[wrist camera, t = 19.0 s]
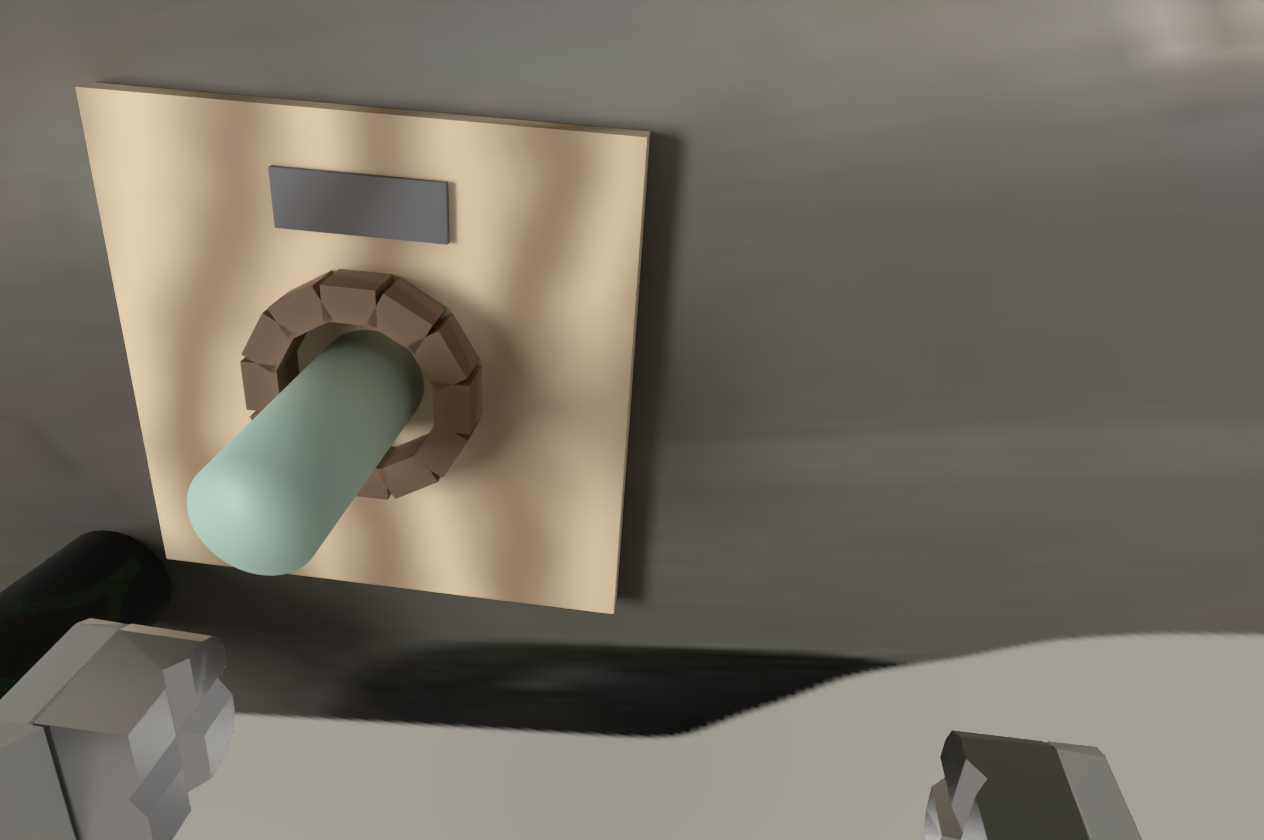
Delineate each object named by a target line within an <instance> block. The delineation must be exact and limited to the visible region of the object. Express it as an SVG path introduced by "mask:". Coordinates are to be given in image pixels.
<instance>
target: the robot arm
mask: <svg viewBox="0 0 1264 840" xmlns="http://www.w3.org/2000/svg"><path fill="white" fill-rule="evenodd" d="M226 665H227V661H226V656H225V652H224V647H223V642H222V641H221V640H219V639H217V638H215V637H213V636H209V635H202V634H196V633H189V632H183V631H176V630H170V629H163V628H157V627H150V626H144V625H137V624H130V625H129V624H123V623H117V622H111V621H105V620H99V619H93V618H89V619H86V620H84V621H81V622H79V623H76V624H75V625H74V626H73V627H72V628H71V629H70V630H69V631H68V632H67V633H66V634H65V635H64V636H63V637H62V638H61V639H60V640H59V641H58V642H57V643H56V644H55V645H54V646H53V647H52V648H51V649H50V650H49V651H48V652H47V653H46V654H45V655H44V656H43V657H42V658H41V659H40V660H39V661H38V662H37V663H36V664H35V665H34V666H33V667H32V668H31V669H30V670H29V671H28V672H27V673H26V674H25V675H24V676H23V677H22V678H21V679H20V680H19V681H18V682H17V683H16V684H15V685H14V686H13V687H12V688H11V689H10V690H9V691H8V692H7V693H6V694H5V695H4V696H3V697H2V698H1V700H0V840H172V839H173V838H174V836H175V835H176V833H177V831H178V830H179V828H180V827H181V825H182V823H183V822H184V821H185V819H186V818H187V816H188V814H189V813H190V811H191V807H190V802H189V796H188V792H189V791H191V790H193V789H194V788H196V787H198V786H199V785H201V784H202V783H204V782H206V781H207V780H209V779H211V778H212V777H213V775H214V773H215V772H216V770H217V769H218V767H219V765H220V764H221V762H222V760H223V759H224V757H225V754H226V751H227V748H228V745H229V742H230V739H231V736H232V733H233V727H234V714H235V709H234V703H233V696H232V693H231V692H230V691H229V690H228V689H227V688H226V687H225V686H224V685H223V683H222V682H221V681H220V680H219V679H218V676H219V675H220V673H221V672H222V671H223V669H224V668H225V666H226ZM941 761H942V766H943V770H944V774H945V778H944V779H942V780H941V781H939V782H938V783H936V784H935V785H934V786H932V788H931V792H930V796H929V800H928V804H927V808H926V817H925V830H924V840H1142V839H1141V836H1140V834H1139V832H1138V830H1137V827H1136V825H1135V823H1134V821H1133V818H1132V816H1131V814H1130V811H1129V809H1128V807H1127V805H1126V803H1125V800H1124V798H1123V796H1122V794H1121V791H1120V789H1119V787H1118V784H1117V782H1116V780H1115V778H1114V776H1113V773H1112V771H1111V768H1110V766H1109V764H1108V762H1107V759H1106V757H1105V755H1104V754H1103V753H1102V752H1101V751H1100V750H1099V749H1098V748H1097V747H1092V746H1083V745H1074V744H1064V743H1056V742H1047V743H1045V742H1042V741H1035V740H1027V739H1018V738H1010V737H1002V736H993V735H985V734H976V733H968V732H960V731H951V733H950V734H949V736H948V737H947V739H946V741H945V744H944V747H943V750H942V754H941Z"/></svg>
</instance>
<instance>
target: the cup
mask: <svg viewBox="0 0 1264 840" xmlns="http://www.w3.org/2000/svg"><path fill="white" fill-rule="evenodd" d="M170 595H171V583H170V580H169V577H168V574H167V572H166V570H165V568H164V566H163V565H162V563H161V562H160V560H159V559H158V558H157V557H156V556H155V555H154V554H153V553H152V552H151V551H150V550H149V549H148V548H146V547H145V546H144V545H143V544H141V543H139V542H138V541H136V540H134V539H132V538H130V537H128V536H125V535H122V534H119V533H116V532H109V531H94V532H89V533H86V534H83V535H81V536H79V537H78V538H77V539H75V540H74V541H72V542H71V543H70V544H68V545H67V546H65V547H64V548H63V549H61V550H60V551H58V552H57V553H55V554H54V555H53V556H51V557H50V558H48V559H47V560H46V561H44V562H43V563H41V564H40V565H39V566H37V567H36V568H34V569H33V570H32V571H30V572H29V573H27V574H26V575H25V576H23V577H22V578H20V579H19V580H17V581H16V582H15V583H13V584H12V585H10V586H9V587H8V588H6V589H5V590H3V591H2V592H1V593H0V700H1V698H2V697H3V696H4V695H5V694H6V693H7V692H8V691H9V690H10V689H11V688H12V687H13V686H14V685H15V684H16V683H17V682H18V681H19V680H20V679H21V678H22V677H23V676H24V675H25V674H26V673H27V672H28V671H29V670H30V669H31V668H32V667H33V666H34V665H35V664H36V663H37V662H38V661H39V660H40V659H41V658H42V657H43V656H44V655H45V654H46V653H47V652H48V651H49V650H50V649H51V648H52V647H53V646H54V645H55V644H56V643H57V642H58V641H59V640H60V639H61V638H62V637H63V636H64V635H65V634H66V633H67V632H68V631H69V630H70V629H71V628H72V627H73V626H74V625H75V624H76V623H79V622H81V621H84V620H86V619H89V618H93V619H99V620H105V621H111V622H117V623H123V624H129V625H130V624H137V625H144V626H150V627H152V625H153V624H154V622H155V621H156V620H157V618H158V617H159V615H160V614H161V612H162V611H163V610H164V608H165V607H166V605H167V604H168V602H169V598H170Z"/></svg>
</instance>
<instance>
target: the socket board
mask: <svg viewBox="0 0 1264 840" xmlns="http://www.w3.org/2000/svg"><path fill="white" fill-rule="evenodd" d="M75 88H76V93H77V98H78V103H79V109H80V114H81V119H82V124H83V129H84V134H85V140H86V145H87V150H88V155H89V160H90V165H91V171H92V176H93V181H94V186H95V191H96V197H97V202H98V207H99V212H100V217H101V222H102V228H103V233H104V238H105V243H106V248H107V253H108V259H109V264H110V269H111V274H112V279H113V284H114V290H115V295H116V300H117V305H118V310H119V315H120V321H121V326H122V331H123V336H124V341H125V347H126V352H127V357H128V362H129V367H130V372H131V378H132V383H133V388H134V393H135V398H136V403H137V409H138V414H139V419H140V424H141V429H142V434H143V440H144V445H145V450H146V455H147V460H148V465H149V471H150V476H151V481H152V486H153V491H154V497H155V502H156V507H157V512H158V517H159V522H160V528H161V533H162V538H163V543H164V548H165V553H166V559H172V560H180V561H189V562H197V563H205V564H213V565H221V566H229V567H234V566H231V565H230V564H228V563H226V562H225V561H223V560H222V559H220V558H219V557H217V556H216V555H215V554H214V553H213V552H211V551H210V550H209V549H208V548H207V547H206V546H205V544H204V543H203V542H202V541H201V540H200V538H199V537H198V535H197V534H196V532H195V530H194V529H193V526H192V524H191V522H190V519H189V516H188V511H187V494H188V490H189V487H190V484H191V482H192V480H193V479H194V477H195V476H196V475H197V474H198V473H199V472H200V471H201V470H202V469H203V468H204V467H205V466H206V465H207V464H208V463H209V462H210V461H211V460H212V459H213V458H214V457H215V456H216V455H217V454H218V453H219V452H220V451H221V450H222V449H223V448H224V447H225V446H226V445H227V444H228V443H229V442H230V441H231V440H232V439H233V438H234V437H235V436H236V435H238V434H239V433H240V432H241V431H242V430H243V429H244V428H245V427H246V426H247V425H248V424H249V423H250V422H251V421H252V420H253V419H254V418H255V417H256V416H257V415H258V414H259V413H260V412H261V411H262V410H263V409H264V408H265V407H266V406H267V405H268V404H269V403H270V402H271V401H272V400H273V399H274V398H275V397H276V396H277V395H278V394H279V393H280V392H282V391H283V390H284V389H285V388H286V387H287V386H288V385H289V384H290V383H291V382H292V381H293V380H294V379H295V378H296V377H297V376H298V375H299V374H300V373H301V372H302V371H303V370H304V369H305V368H306V367H307V366H308V365H309V364H310V363H311V362H312V361H313V360H314V359H315V358H316V357H317V356H318V355H319V354H320V353H321V352H322V351H323V350H324V349H325V348H327V347H328V346H329V345H330V344H331V343H332V342H333V341H334V340H335V339H336V338H338V337H339V336H341V335H343V334H345V333H347V332H351V331H356V330H372V331H377V332H381V333H383V334H384V335H386V336H388V337H389V338H391V339H392V340H394V341H395V342H397V343H399V344H400V345H402V346H403V347H405V348H406V349H408V350H409V351H410V352H411V353H412V355H413V356H414V358H415V360H416V361H417V363H418V365H419V367H420V369H421V372H422V375H423V380H424V392H423V397H422V400H421V403H420V405H419V407H418V408H417V410H416V411H415V412H414V414H413V415H412V417H411V418H410V420H409V421H408V422H407V424H406V425H405V427H404V428H403V430H402V431H401V432H400V434H399V435H398V437H397V438H396V440H395V441H394V442H393V444H392V445H391V447H390V448H389V449H388V451H387V452H386V454H385V455H384V457H383V458H382V459H381V461H380V462H379V464H378V465H377V467H376V468H375V469H374V471H373V472H372V474H371V475H370V477H369V478H368V479H367V481H366V482H365V484H364V485H363V487H362V488H361V489H360V491H359V492H358V494H357V495H356V496H355V498H354V499H353V501H352V502H351V504H350V505H349V506H348V508H347V509H346V511H345V512H344V514H343V515H342V516H341V518H340V519H339V521H338V522H337V524H336V525H335V526H334V528H333V529H332V531H331V532H330V534H329V535H328V536H327V538H326V539H325V541H324V542H323V543H322V545H321V546H320V548H319V549H318V551H317V552H316V553H315V555H314V556H313V558H312V559H311V560H310V561H309V562H308V563H307V564H306V565H304V566H303V567H302V568H300V569H298V570H296V571H293V572H291V573H287V574H294V575H302V576H310V577H318V578H326V579H334V580H342V581H350V582H358V583H367V584H375V585H383V586H391V587H399V588H407V589H415V590H423V591H431V592H439V593H447V594H456V595H464V596H472V597H480V598H488V599H496V600H504V601H512V602H520V603H528V604H536V605H544V606H553V607H561V608H569V609H577V610H585V611H593V612H601V613H609V614H614V610H615V605H616V600H617V590H618V576H619V562H620V548H621V534H622V520H623V506H624V492H625V478H626V464H627V450H628V436H629V422H630V408H631V394H632V380H633V367H634V353H635V339H636V325H637V311H638V297H639V283H640V269H641V255H642V241H643V227H644V213H645V199H646V185H647V171H648V157H649V143H650V131H641V130H630V129H618V128H607V127H596V126H584V125H573V124H561V123H550V122H539V121H527V120H516V119H505V118H493V117H482V116H471V115H459V114H448V113H437V112H425V111H414V110H403V109H391V108H380V107H368V106H357V105H346V104H334V103H323V102H312V101H300V100H289V99H278V98H266V97H255V96H244V95H232V94H221V93H210V92H198V91H187V90H175V89H164V88H153V87H141V86H130V85H119V84H107V83H96V82H94V83H89V84H85V85H81V86H76V87H75Z"/></svg>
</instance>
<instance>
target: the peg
mask: <svg viewBox="0 0 1264 840" xmlns="http://www.w3.org/2000/svg"><path fill="white" fill-rule="evenodd" d="M423 392H424V380H423V375H422V372H421V369H420V367H419V365H418V363H417V361H416V360H415V358H414V356H413V355H412V353H411V352H410V351H409V350H408V349H406V348H405V347H403V346H402V345H400V344H399V343H397V342H395V341H394V340H392V339H391V338H389V337H388V336H386V335H384V334H383V333H381V332H377V331H372V330H356V331H351V332H347V333H345V334H343V335H341V336H339V337H338V338H336V339H335V340H334V341H333V342H332V343H331V344H330V345H329V346H328V347H327V348H325V349H324V350H323V351H322V352H321V353H320V354H319V355H318V356H317V357H316V358H315V359H314V360H313V361H312V362H311V363H310V364H309V365H308V366H307V367H306V368H305V369H304V370H303V371H302V372H301V373H300V374H299V375H298V376H297V377H296V378H295V379H294V380H293V381H292V382H291V383H290V384H289V385H288V386H287V387H286V388H285V389H284V390H283V391H282V392H280V393H279V394H278V395H277V396H276V397H275V398H274V399H273V400H272V401H271V402H270V403H269V404H268V405H267V406H266V407H265V408H264V409H263V410H262V411H261V412H260V413H259V414H258V415H257V416H256V417H255V418H254V419H253V420H252V421H251V422H250V423H249V424H248V425H247V426H246V427H245V428H244V429H243V430H242V431H241V432H240V433H239V434H238V435H236V436H235V437H234V438H233V439H232V440H231V441H230V442H229V443H228V444H227V445H226V446H225V447H224V448H223V449H222V450H221V451H220V452H219V453H218V454H217V455H216V456H215V457H214V458H213V459H212V460H211V461H210V462H209V463H208V464H207V465H206V466H205V467H204V468H203V469H202V470H201V471H200V472H199V473H198V474H197V475H196V476H195V477H194V479H193V480H192V482H191V484H190V487H189V490H188V494H187V511H188V516H189V519H190V522H191V524H192V526H193V529H194V530H195V532H196V534H197V535H198V537H199V538H200V540H201V541H202V542H203V543H204V544H205V546H206V547H207V548H208V549H209V550H210V551H211V552H213V553H214V554H215V555H216V556H217V557H219V558H220V559H222V560H223V561H225V562H226V563H228V564H230V565H231V566H234V567H236V568H238V569H240V570H243V571H246V572H249V573H253V574H258V575H269V576H274V575H283V574H287V573H291V572H293V571H296V570H298V569H300V568H302V567H303V566H304V565H306V564H307V563H308V562H309V561H310V560H311V559H312V558H313V556H314V555H315V553H316V552H317V551H318V549H319V548H320V546H321V545H322V543H323V542H324V541H325V539H326V538H327V536H328V535H329V534H330V532H331V531H332V529H333V528H334V526H335V525H336V524H337V522H338V521H339V519H340V518H341V516H342V515H343V514H344V512H345V511H346V509H347V508H348V506H349V505H350V504H351V502H352V501H353V499H354V498H355V496H356V495H357V494H358V492H359V491H360V489H361V488H362V487H363V485H364V484H365V482H366V481H367V479H368V478H369V477H370V475H371V474H372V472H373V471H374V469H375V468H376V467H377V465H378V464H379V462H380V461H381V459H382V458H383V457H384V455H385V454H386V452H387V451H388V449H389V448H390V447H391V445H392V444H393V442H394V441H395V440H396V438H397V437H398V435H399V434H400V432H401V431H402V430H403V428H404V427H405V425H406V424H407V422H408V421H409V420H410V418H411V417H412V415H413V414H414V412H415V411H416V410H417V408H418V407H419V405H420V403H421V400H422V397H423Z"/></svg>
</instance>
